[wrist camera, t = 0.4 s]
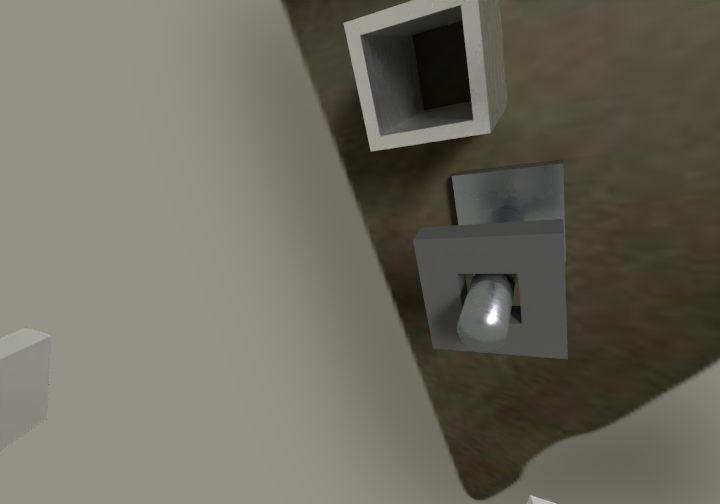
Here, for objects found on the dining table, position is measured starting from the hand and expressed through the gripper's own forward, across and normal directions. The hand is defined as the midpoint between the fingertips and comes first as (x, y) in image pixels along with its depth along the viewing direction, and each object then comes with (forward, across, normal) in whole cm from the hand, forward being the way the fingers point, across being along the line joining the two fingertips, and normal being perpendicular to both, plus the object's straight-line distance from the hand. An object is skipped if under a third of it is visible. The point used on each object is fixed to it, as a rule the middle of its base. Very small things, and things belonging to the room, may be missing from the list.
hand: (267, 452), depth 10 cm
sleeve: (+24, +2, +15) cm, 28 cm away
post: (+26, +10, +6) cm, 28 cm away
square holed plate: (+15, +8, +2) cm, 17 cm away
